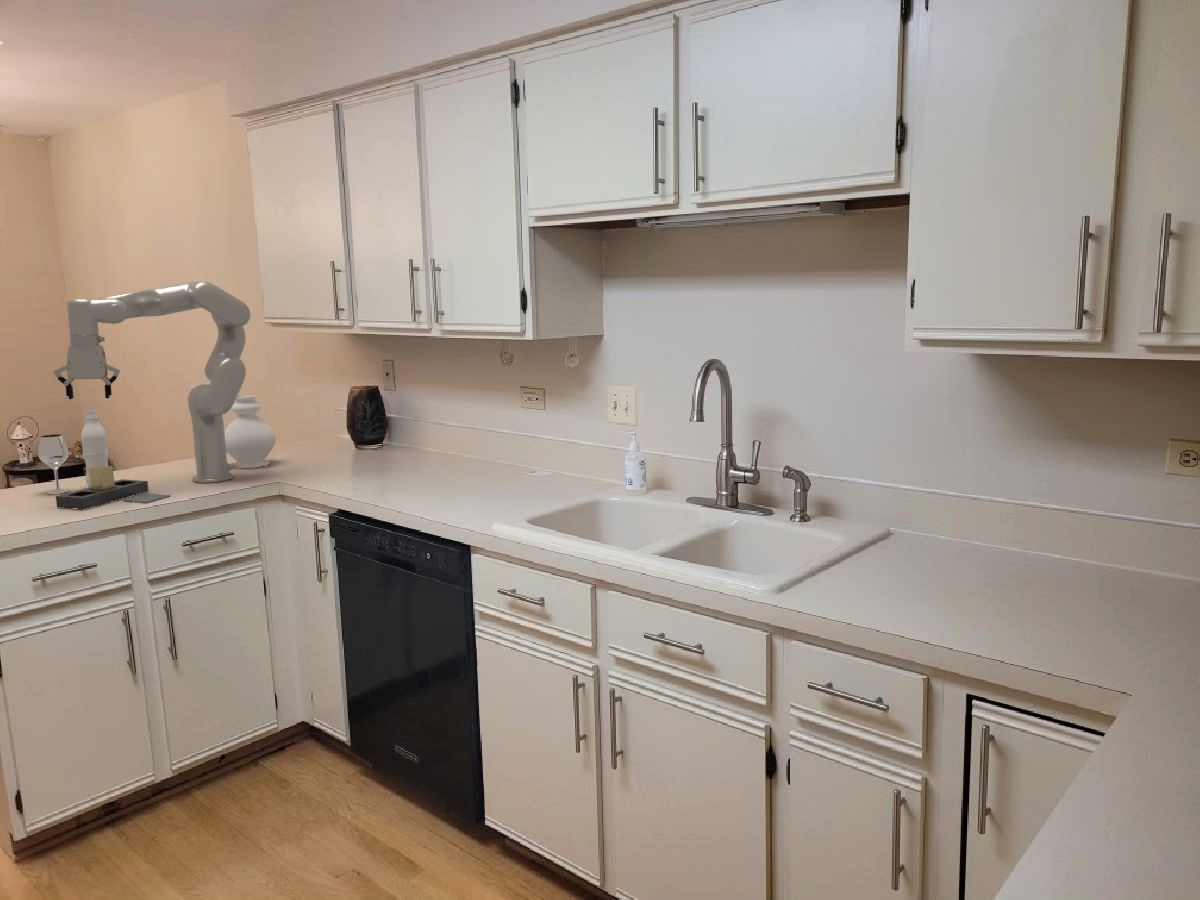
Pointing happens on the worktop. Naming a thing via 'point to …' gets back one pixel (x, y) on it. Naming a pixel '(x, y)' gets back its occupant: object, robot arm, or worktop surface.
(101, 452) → the water bottle
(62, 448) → the wineglass
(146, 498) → the grey rubber mat
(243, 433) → the decorative vase
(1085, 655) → the worktop surface
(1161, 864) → the worktop surface
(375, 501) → the worktop surface
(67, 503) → the dark grey compartment tray
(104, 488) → the brass peg
